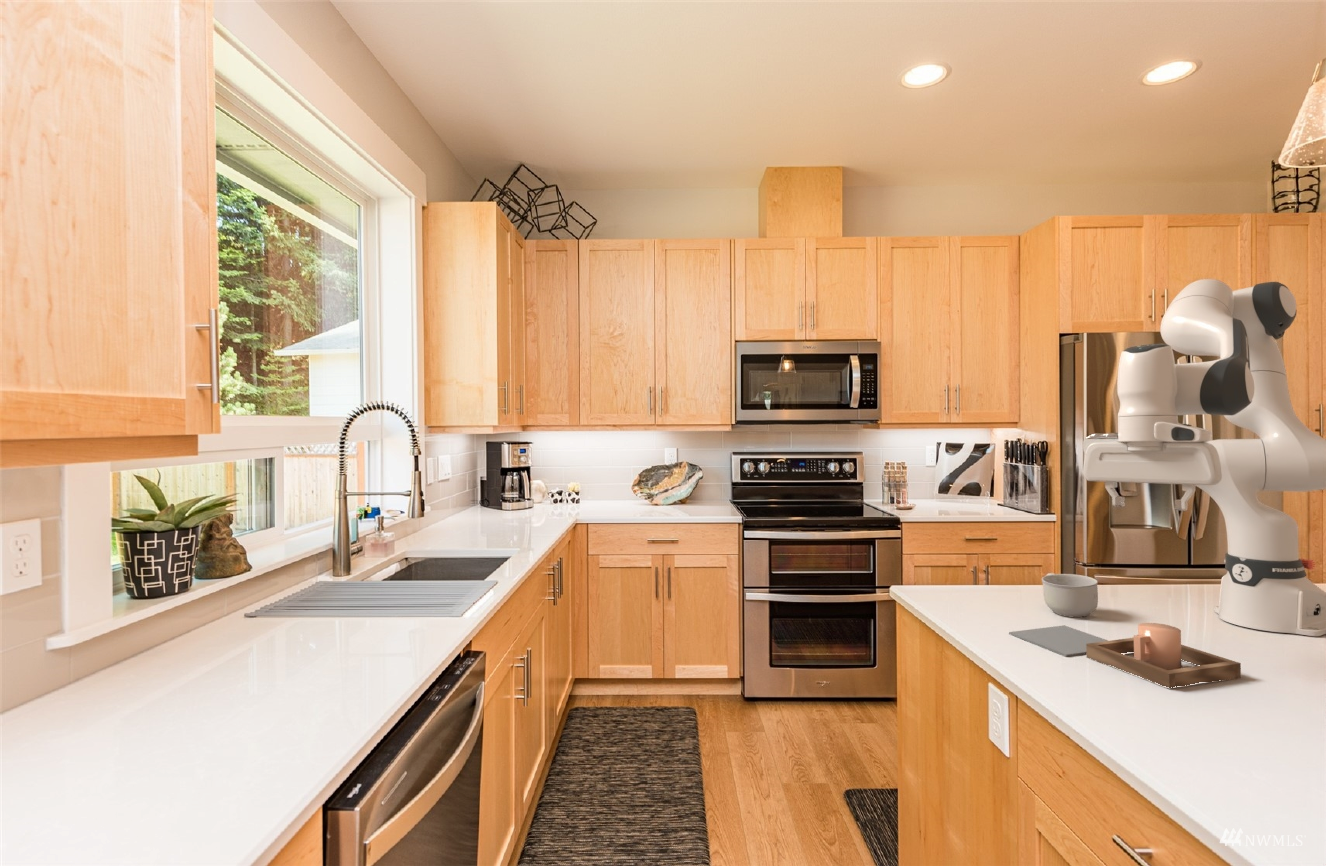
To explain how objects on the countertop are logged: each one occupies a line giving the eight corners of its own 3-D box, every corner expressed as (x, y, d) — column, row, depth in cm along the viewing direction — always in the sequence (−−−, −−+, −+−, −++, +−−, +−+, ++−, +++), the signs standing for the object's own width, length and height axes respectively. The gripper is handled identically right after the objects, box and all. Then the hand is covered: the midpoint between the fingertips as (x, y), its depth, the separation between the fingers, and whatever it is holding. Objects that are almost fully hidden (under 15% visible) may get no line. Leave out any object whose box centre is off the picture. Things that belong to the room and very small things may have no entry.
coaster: (1064, 627, 138) (1064, 625, 138) (1125, 648, 124) (1125, 646, 124) (1009, 633, 134) (1009, 632, 134) (1066, 656, 121) (1066, 654, 121)
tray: (1151, 648, 124) (1151, 635, 124) (1240, 677, 109) (1240, 663, 109) (1086, 657, 120) (1086, 643, 120) (1169, 689, 105) (1169, 673, 105)
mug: (1156, 659, 118) (1155, 621, 118) (1190, 671, 112) (1189, 631, 112) (1121, 664, 116) (1120, 625, 116) (1154, 676, 110) (1153, 636, 110)
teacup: (1107, 621, 141) (1106, 584, 141) (1052, 619, 143) (1052, 583, 143) (1080, 603, 154) (1079, 570, 154) (1030, 602, 157) (1029, 569, 157)
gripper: (1076, 433, 124) (1078, 505, 124) (1214, 431, 108) (1215, 513, 108) (1089, 433, 128) (1090, 503, 128) (1223, 431, 112) (1225, 511, 112)
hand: (1148, 508), depth 118 cm, fingers open, 8 cm apart
